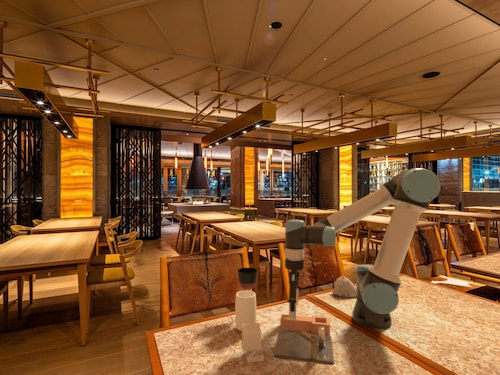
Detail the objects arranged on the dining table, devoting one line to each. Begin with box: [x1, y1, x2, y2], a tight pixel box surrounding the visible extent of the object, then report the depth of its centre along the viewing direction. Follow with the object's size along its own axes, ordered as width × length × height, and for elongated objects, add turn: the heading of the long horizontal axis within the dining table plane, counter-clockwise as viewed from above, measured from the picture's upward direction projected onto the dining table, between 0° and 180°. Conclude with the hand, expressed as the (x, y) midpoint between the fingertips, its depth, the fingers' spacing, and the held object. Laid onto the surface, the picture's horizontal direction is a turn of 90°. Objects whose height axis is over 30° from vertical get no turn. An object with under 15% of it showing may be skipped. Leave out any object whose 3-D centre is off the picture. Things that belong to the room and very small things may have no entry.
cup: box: [234, 289, 257, 332], centre depth 111 cm, size 8×8×14 cm
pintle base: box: [273, 327, 335, 365], centre depth 97 cm, size 19×17×8 cm
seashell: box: [332, 275, 357, 299], centre depth 147 cm, size 12×14×10 cm
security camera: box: [240, 322, 265, 363], centre depth 92 cm, size 6×7×10 cm
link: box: [280, 313, 331, 336], centre depth 111 cm, size 19×7×4 cm, turn 77°
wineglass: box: [237, 267, 258, 291], centre depth 123 cm, size 8×9×20 cm
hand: (293, 311), depth 112 cm, fingers open, 13 cm apart
